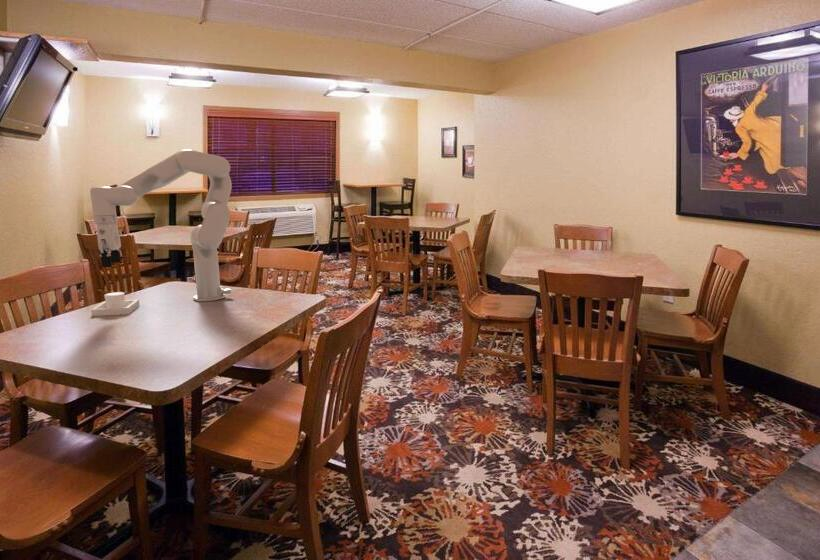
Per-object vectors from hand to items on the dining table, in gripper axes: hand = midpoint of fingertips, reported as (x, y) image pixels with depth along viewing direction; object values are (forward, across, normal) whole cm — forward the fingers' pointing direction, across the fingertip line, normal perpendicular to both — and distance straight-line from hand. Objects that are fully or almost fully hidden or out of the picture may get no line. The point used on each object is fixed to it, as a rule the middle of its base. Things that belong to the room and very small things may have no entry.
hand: (111, 264), depth 189 cm
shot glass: (+18, -1, 0) cm, 19 cm away
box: (+18, 0, 0) cm, 18 cm away
